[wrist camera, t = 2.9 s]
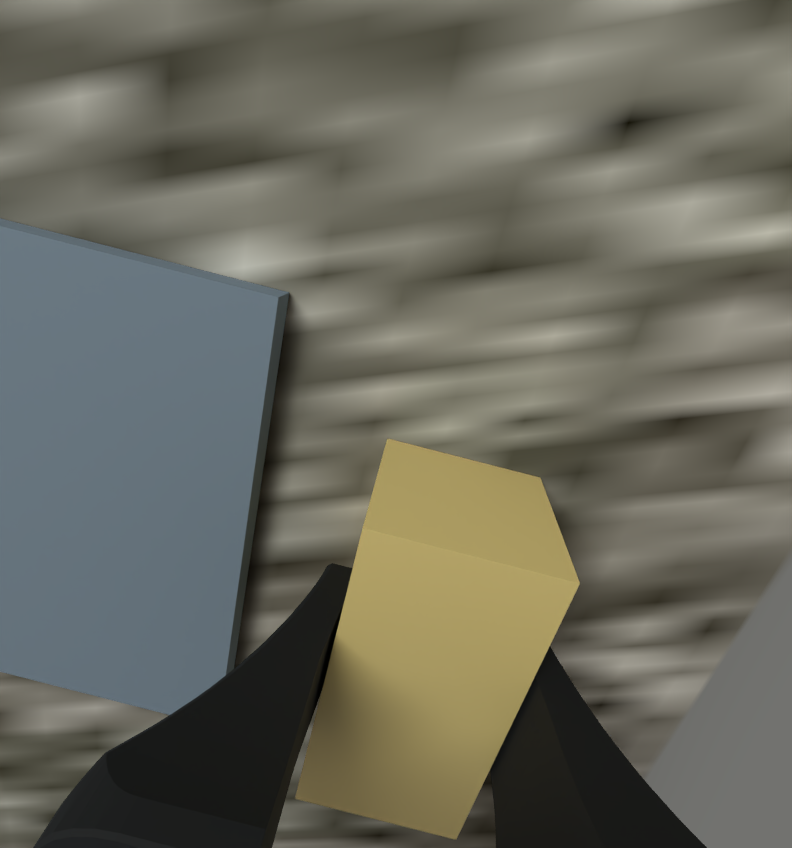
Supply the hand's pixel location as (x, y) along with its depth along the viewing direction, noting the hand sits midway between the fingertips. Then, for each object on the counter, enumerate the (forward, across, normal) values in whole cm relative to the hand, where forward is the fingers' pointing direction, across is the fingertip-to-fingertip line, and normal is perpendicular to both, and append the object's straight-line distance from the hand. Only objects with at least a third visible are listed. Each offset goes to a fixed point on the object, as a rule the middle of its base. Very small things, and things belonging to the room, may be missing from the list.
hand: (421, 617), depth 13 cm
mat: (+1, +11, 0) cm, 11 cm away
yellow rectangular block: (+1, 0, 0) cm, 1 cm away
